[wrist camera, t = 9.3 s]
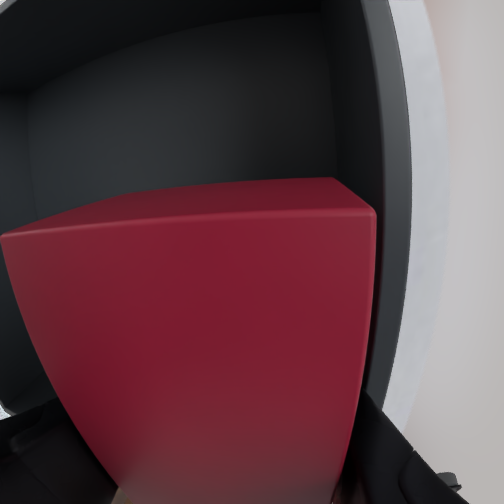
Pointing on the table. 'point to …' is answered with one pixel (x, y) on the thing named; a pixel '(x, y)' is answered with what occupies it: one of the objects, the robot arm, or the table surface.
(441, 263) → the table surface
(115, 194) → the storage bin
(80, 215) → the red rectangular block
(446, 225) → the table surface
